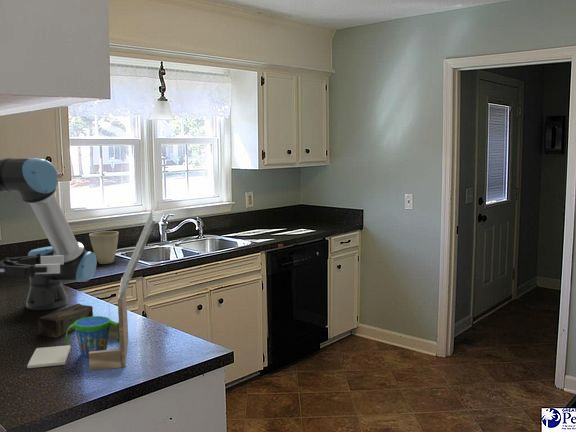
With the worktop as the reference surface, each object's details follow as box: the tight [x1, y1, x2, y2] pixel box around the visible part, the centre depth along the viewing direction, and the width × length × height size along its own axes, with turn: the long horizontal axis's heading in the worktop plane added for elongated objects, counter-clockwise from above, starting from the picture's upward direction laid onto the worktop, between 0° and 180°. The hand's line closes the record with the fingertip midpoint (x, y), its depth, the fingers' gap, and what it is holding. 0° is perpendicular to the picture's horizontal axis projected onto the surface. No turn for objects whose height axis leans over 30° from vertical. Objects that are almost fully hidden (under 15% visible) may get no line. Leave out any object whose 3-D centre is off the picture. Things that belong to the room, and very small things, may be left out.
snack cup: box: [64, 315, 120, 358], centre depth 170 cm, size 16×10×10 cm
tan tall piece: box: [88, 209, 156, 371], centre depth 170 cm, size 27×20×42 cm
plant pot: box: [89, 230, 119, 265], centre depth 299 cm, size 15×15×16 cm
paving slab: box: [26, 344, 72, 369], centre depth 168 cm, size 14×10×1 cm
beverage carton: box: [37, 303, 94, 339], centre depth 194 cm, size 8×19×7 cm, turn 160°
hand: (61, 264), depth 167 cm, fingers open, 13 cm apart
